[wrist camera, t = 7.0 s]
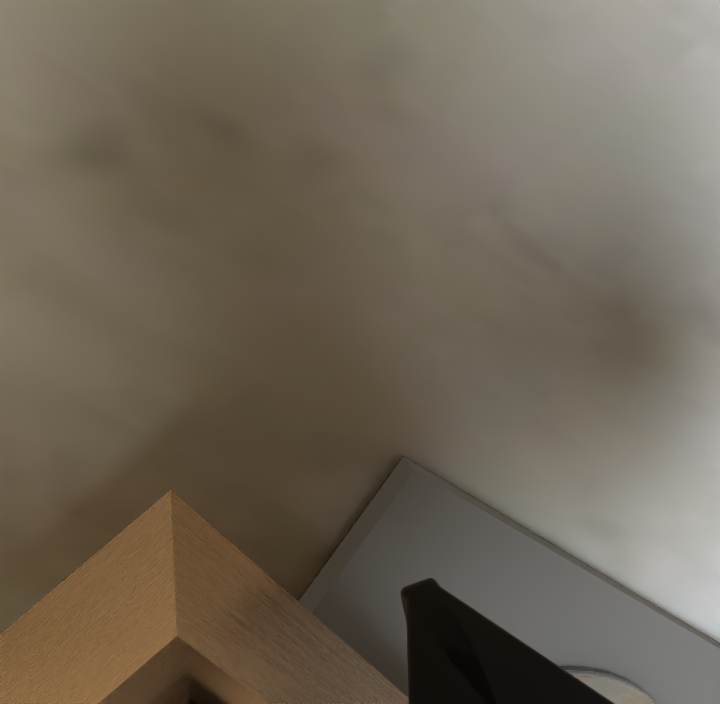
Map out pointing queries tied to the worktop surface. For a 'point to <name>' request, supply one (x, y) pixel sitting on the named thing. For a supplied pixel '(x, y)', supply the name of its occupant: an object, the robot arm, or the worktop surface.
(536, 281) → the worktop surface
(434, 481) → the mat
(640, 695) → the white disc
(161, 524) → the door handle
